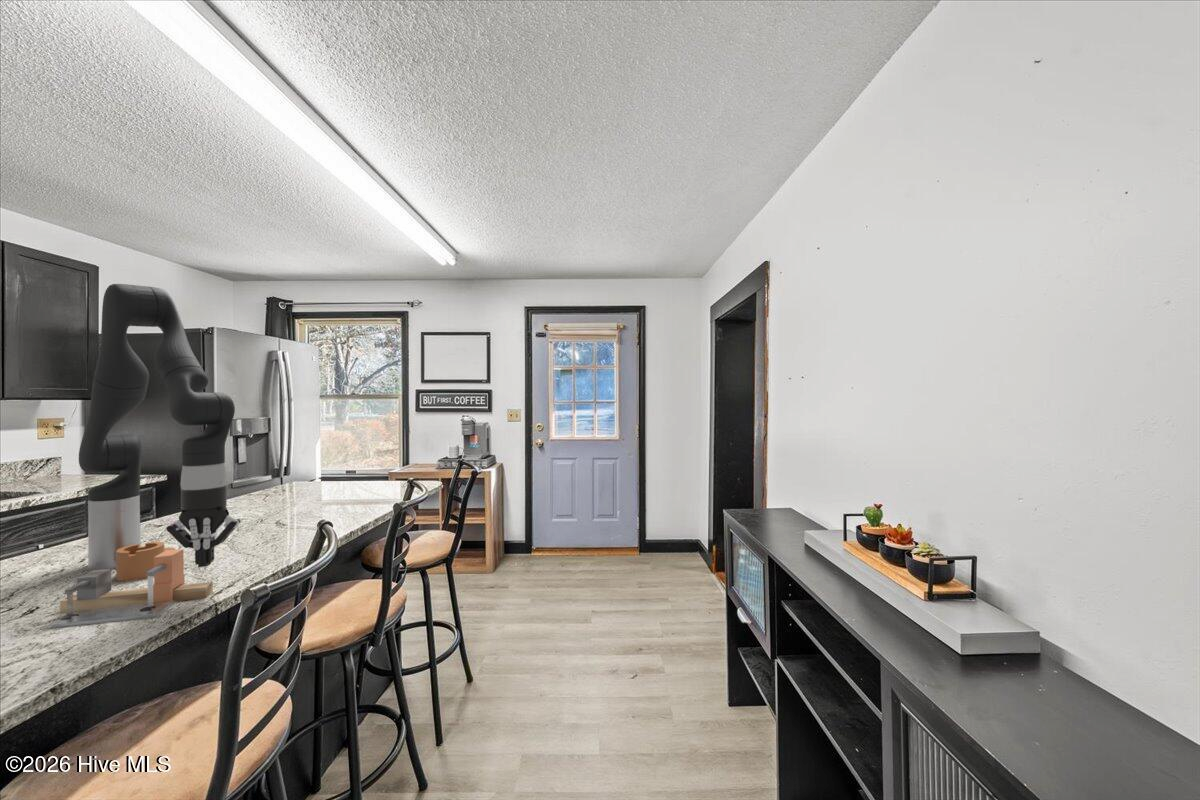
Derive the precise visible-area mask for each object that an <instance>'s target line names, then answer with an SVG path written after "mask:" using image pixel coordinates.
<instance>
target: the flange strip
mask: <svg viewBox="0 0 1200 800" xmlns="http://www.w3.org/2000/svg"><path fill="white" fill-rule="evenodd" d="M175 605H176V601H167V602H157V603H153V606H151V607H148V603H147V604H137V605H128V606H118V607H108V608H98V609H88V610H77V611H73V614H72V615H67V614H66V615H65V616H62V617H61V618H59V620H56V621H55V622H53V623H52V624H50V625H49V626H50V629H56V628H57V629H58V628H67V627H76V626H83V625H84V626H85V625H93V624H94V625H95V624H102V623H104V624H105V623H112V622H113V623H114V622H123V621H125V622H126V621H131V620H132V621H133V620H142V619H153V618H158V617H160V615H163V614H164V613H165V612H166V611H168V610H169V609H171V608H172V607H174V606H175Z"/></svg>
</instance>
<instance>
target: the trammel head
mask: <svg viewBox="0 0 1200 800" xmlns="http://www.w3.org/2000/svg"><path fill="white" fill-rule="evenodd" d="M184 571H185V570H184V549H183V548H179V549H175V550H166V551H165V552H163V553H161V554H159V555H157V556H155V557H154V568H153V569H151V570H149V571H148V572H146V576H148V578H147V588H148V607H151V606H153V603H157V602H167V601H173V589H174V588H176V587H177V586H179V585H185V584H186V583H185V581H186V579H185V575H186V574H185V573H184ZM153 575H154V576H153Z"/></svg>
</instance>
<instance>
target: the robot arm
mask: <svg viewBox="0 0 1200 800" xmlns="http://www.w3.org/2000/svg"><path fill="white" fill-rule="evenodd" d="M101 309H102V310H101V331H100V343H99V350H98V357H97V361H96V365H95V370H94V374H93V375H94V376H93V380H92V387H91V396H90V404H89V412H88V417H87V419H86V420H87V421H86V425H85V428H84V432H83V435H82V439H81V442H80V446H79V449H78V450H79V451H78V464H79V466H80V469H81V470H83V472H85V473H89V474H90V473H106V472H107V473H109V472H119V471H120V473H119V474H118V475H117V476H116V477H114V478H112V479H111V480H108V481H105V482H104V483H102V484H101V483H100V484H99V485H95V486H94V487H91V488H90V489H89V490H88V492H87V495H88V496H87V501H88V503H87V505H88V509H87V511H88V512H87V513H88V515H87V516H88V518H87V519H88V523H87V524H88V525H87V526H88V533H87V535H88V544H87V545H88V547H87V548H88V549H87V551H88V552H87V555H88V556H87V558H88V561H87V562H88V563H87V564H88V566H87V567H88V570H90V571H93V570H104V569H111V570H113V569H116V551H117V550H118V549H120V548H122V547H126V546H129V545H134V544H139V547H142V546H141V539H142V537H141V528H142V527H141V520H140V518H141V510H140V509H141V508H140V507H141V505H140V504H141V502H140V501H141V500H140V499H141V498H140V497H141V495H140V494H141V493H140V492H141V491H140V489H141V468H142V455H143V452H142V451H143V449H142V447H143V446H142V442H141V440H140V437H139V436H138V435H136V434H110V435H109V433H110V430H111V429H112V428H114V427H115V425H116V424H117V423H118V422H120V421H121V420H122V419H124V417H127V416H128V415H129V414H130V413H132V412H133V411H134V410H136V408H138V407H139V406H140V405H141V404H142V403H143V401H144V400H145V398H146V394H147V390H148V386H149V380H150V373H149V370H148V368H147V366H146V365H145V364H144V362H143V361H142V360H141V358H140V357H139V356H138V355H137V353H136V352H135V351H134V350H133V348H132V346H131V345H130V343H129V341H128V337H127V332H128V329H129V327H143V328H144V327H145V328H147V327H148V328H149V327H151V328H152V327H153V328H155V327H157V328H159V329H160V330H161V331H162V333H163V334H162V339H161V341H160V343H159V345H158V347H157V349H156V351H155V354H154V365H155V368H156V370H157V371H158V374H159V375H160V377H161V378H162V380H163V382H164V384H165V385H166V388H167V393H168V400H169V411H170V416H171V417H172V418H173V420H175V421H176V422H177V423H178V424H179V425H183V426H187V427H188V426H189V427H191V426H206V427H205V429H204V430H203V432H202V433H200V434H199V435H195V436H191V437H188V438H186V439H184V440H183V443H182V446H181V447H182V451H181V456H182V464H181V465H182V466H181V472H180V473H181V474H180V482H179V486H180V509H181V511H180V514H179V515H178V519H177V520H176V521H175V522H174V523H171V524H169V525H167V526H166V528H165V529H166V531H167V532H168V534H170V535H171V536H172V537H173V539H175V540H176V541H177V542H178V543H179V544H180V545H181V546H182V547H184V548H185V549H189V548H190V549H193V550H194V556H195V557H194V563H195V565H197V566H198V568H204V567H209V566H210V565H211V564H212V563H213V562H214V560H215V547H217V546H219V545H220V544H222V543H224V542H226V540H227V538H229V536H230V535H231V534H232V533H234V531H235V529H236V528H237V527H238V526H239V524H240V523H241V522H242V521H241V519H240V518H234V517H232V516H231V515H230V512H229V510H228V508H227V502H228V501H227V489H228V488H227V485H228V484H227V469H226V454H225V453H226V452H225V451H226V449H225V448H226V442H227V438H228V436H229V432H230V428H231V425H232V423H233V420H234V416H235V412H236V411H235V410H236V407H235V403H234V401H233V399H232V397H230V396H229V395H228V394H227V393H224V392H218V391H217V392H216V391H215V392H213V391H212V392H206V391H204V390H205V389H206V388H207V386H208V385H209V378H208V375H207V374H206V373H205V370H204V369H203V367H202V366H201V364H200V362H199V360H198V359H197V357H196V356H195V354H194V351H193V350H192V348H191V345H190V343H189V341H188V337H187V333H186V331H185V328H184V324H183V323H182V319H181V316H180V314H179V310H178V309H177V305H176V303H175V301H174V299H173V298H172V296H171V295H170V293H169V292H167V290H165V289H163V288H160V287H154V286H146V285H139V284H138V285H135V284H126V283H113V284H109V286H107V288H106V290H105V291H104V295H103V299H102V308H101ZM202 391H203V392H202ZM222 525H223V527H224V529H223V530H222V531H221V532H220V534H218V530H219V528H221V527H222ZM186 529H187V530H186ZM189 532H190V533H189ZM217 535H218V536H217Z"/></svg>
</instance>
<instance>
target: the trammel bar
mask: <svg viewBox="0 0 1200 800" xmlns="http://www.w3.org/2000/svg"><path fill="white" fill-rule="evenodd" d="M213 585H214V583H213V581H209V582H197V583H196V582H195V583H187V584H186V583H185V585H179V586H177V587H176V588H174V589H173V601H175V602H179V601H187V600H188V599H189V600H196V599H197V598H199V599H206V598H208V597H209V596H210V595H212V594H213V592H214V591H213V590H214V586H213ZM75 592H76V594H74V593H75ZM64 595H66V598H64V599H62V600H60V601H59V602H60V603H59V605H60V606H59V607H60V609H59V610H60V611H59V612H60V613H64V612H66V616H67V615H72V614H73V612H74V611H79V610H89V609H98V608H108V607H118V606H128V605H137V604H147V603H148V587H145V588H134V589H133V588H132V589H125V590H124V589H122V590H113V591H112V569H104V570H90V571H89V572H87V573H85V574H82V575H81V576H78V577H76V584H74V585H72V586H70V587H68V588H66V589H64ZM207 596H208V597H207ZM197 600H198V599H197Z"/></svg>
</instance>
